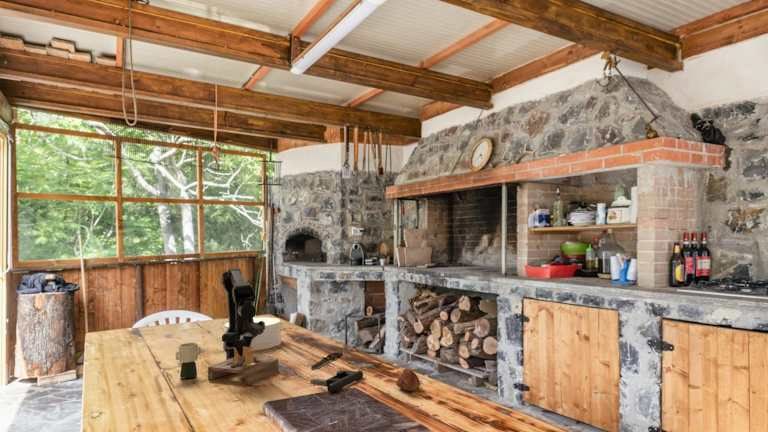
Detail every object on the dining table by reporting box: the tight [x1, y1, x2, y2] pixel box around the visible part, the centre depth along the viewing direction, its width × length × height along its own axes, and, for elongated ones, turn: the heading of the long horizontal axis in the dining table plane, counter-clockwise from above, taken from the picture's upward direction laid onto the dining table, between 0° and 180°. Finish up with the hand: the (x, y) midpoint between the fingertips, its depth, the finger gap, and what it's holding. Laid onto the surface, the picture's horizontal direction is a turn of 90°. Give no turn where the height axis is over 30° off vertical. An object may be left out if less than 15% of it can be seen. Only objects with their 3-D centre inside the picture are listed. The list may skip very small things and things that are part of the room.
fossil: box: [395, 368, 421, 392], centre depth 163 cm, size 13×8×10 cm
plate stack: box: [224, 317, 282, 351], centre depth 240 cm, size 28×28×12 cm
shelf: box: [207, 353, 279, 385], centre depth 185 cm, size 20×18×7 cm
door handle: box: [310, 370, 364, 393], centre depth 172 cm, size 3×20×16 cm
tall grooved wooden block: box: [234, 346, 254, 365], centre depth 185 cm, size 7×3×6 cm, turn 67°
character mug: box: [175, 342, 202, 379], centre depth 185 cm, size 11×7×13 cm, turn 147°
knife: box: [310, 351, 344, 370], centre depth 202 cm, size 26×7×1 cm, turn 155°
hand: (243, 355), depth 185 cm, fingers closed on tall grooved wooden block, 3 cm apart
